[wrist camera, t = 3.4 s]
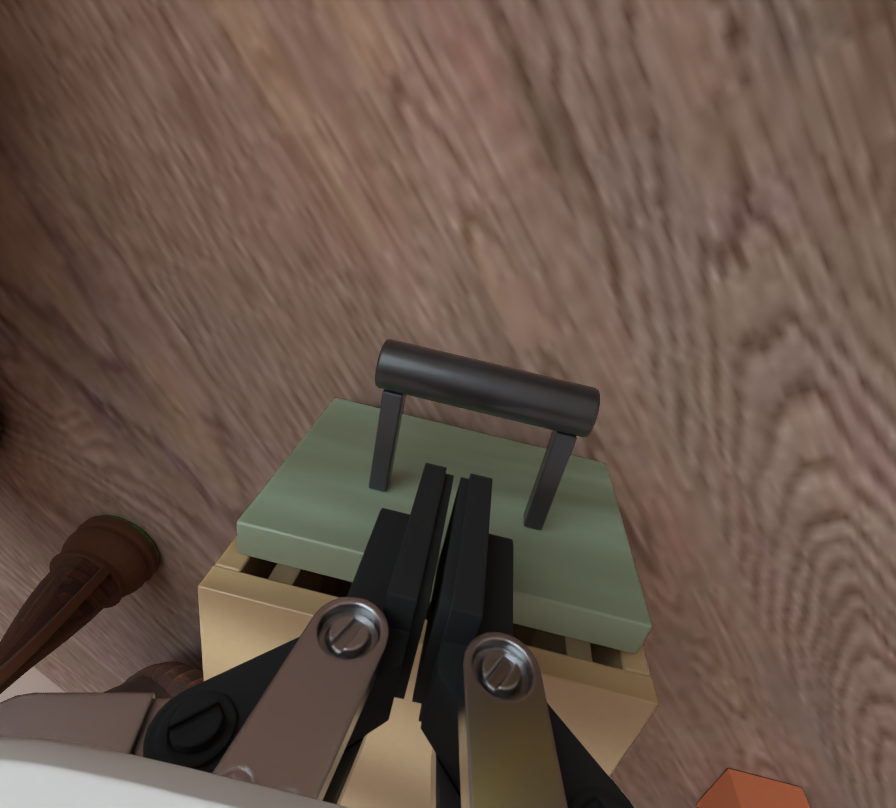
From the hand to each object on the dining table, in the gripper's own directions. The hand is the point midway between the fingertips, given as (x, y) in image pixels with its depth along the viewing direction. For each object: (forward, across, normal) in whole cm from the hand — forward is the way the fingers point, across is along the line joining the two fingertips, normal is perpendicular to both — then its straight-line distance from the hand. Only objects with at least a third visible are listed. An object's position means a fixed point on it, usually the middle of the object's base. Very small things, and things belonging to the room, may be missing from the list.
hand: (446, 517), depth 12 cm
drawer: (+8, 0, +6) cm, 10 cm away
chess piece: (+9, +17, +15) cm, 24 cm away
